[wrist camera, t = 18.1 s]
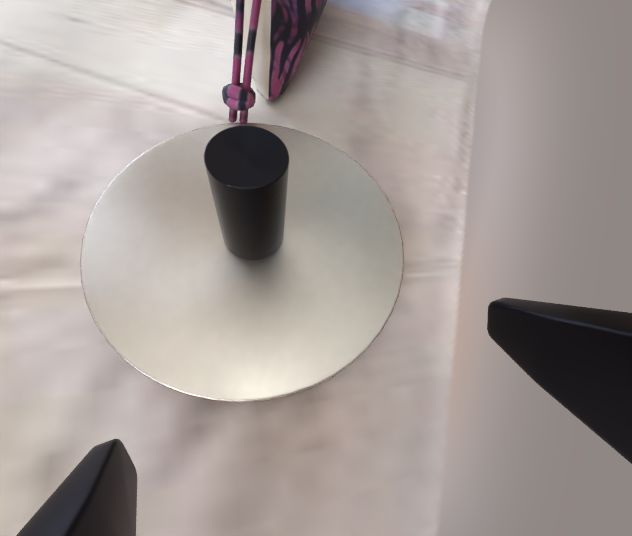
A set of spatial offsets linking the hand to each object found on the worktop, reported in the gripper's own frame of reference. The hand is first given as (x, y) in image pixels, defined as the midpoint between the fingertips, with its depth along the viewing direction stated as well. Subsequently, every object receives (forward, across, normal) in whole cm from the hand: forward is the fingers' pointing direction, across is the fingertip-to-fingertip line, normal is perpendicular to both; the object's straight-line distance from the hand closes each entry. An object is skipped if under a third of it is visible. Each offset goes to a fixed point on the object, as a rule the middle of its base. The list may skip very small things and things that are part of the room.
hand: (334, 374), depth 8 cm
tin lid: (+10, 0, -1) cm, 10 cm away
